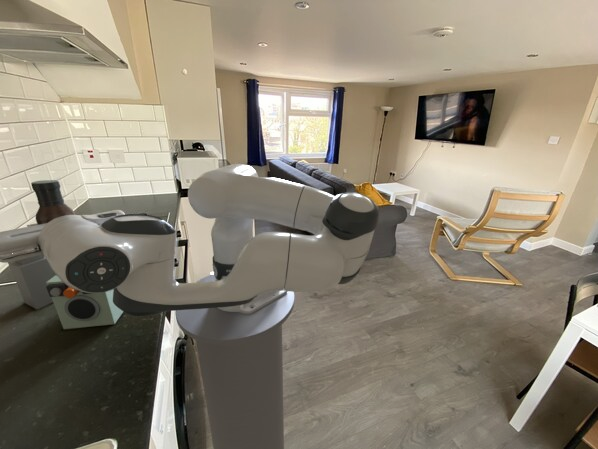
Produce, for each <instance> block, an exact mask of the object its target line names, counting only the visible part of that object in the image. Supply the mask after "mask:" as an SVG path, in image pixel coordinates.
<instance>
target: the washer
mask: <svg viewBox="0 0 598 449" xmlns="http://www.w3.org/2000/svg"><path fill="white" fill-rule="evenodd" d="M46 284H47V286H46V288H47V291H48V293H49V296H50V297H52V300H53V302H52V303H53V305H54V307H55V311H56V313H57V315H58V318H59V321H60V324H61V326H62V329H63V330H71V329H81V328H89V327H101V326H111V325H115V324H116V323H117V322H118V320H119V319H120V317H121V316H122V314H124V313H125V312H124V311H122V310H121V309H119V308H118V307H117V306H116V305H115V304H114V303H113V291H114V289H113V290H110V291H107V292H104V293H86V292H81V291H79V293H78V294H77V295H76V296H74V297H73V298H66V297H65V296H64V295H63V292H64V291H65V290H66V289H67V288H68V287H69V286H67V285H66V284H65V283H64V282H62V281H61V280H60V279H59V277H58V276H57V275H55V276H54V277H53V278H51V279H50V280H49V281H47V282H46Z"/></svg>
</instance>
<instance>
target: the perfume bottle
mask: <svg viewBox="0 0 598 449" xmlns="http://www.w3.org/2000/svg"><path fill="white" fill-rule="evenodd" d="M7 265H8V266H9V269H10V271H11V274H12V276H13V278H14V280H15V281H14V282H15V283H16V285H17V288H18V290H19V292H20V295H21V297H22V299H23V302H24V304H26V305H28V306H29V307H31V308H32V309H35V310H38V309H41V308H43V307H45V306H48V305H50V304H52V303H53V300H52V297H50V296H49V293H48V291H47V288H46V286H47V284H46V282H47V281H49V280H50V279H51V278H53V277H54V276H55V275H56V274H55V273H54V271H53V270H52V268H51V266H50V264H49V262H48V260H47V259H46V258H45V256H44V254H42V255H38V256H34V257H30V258H26V259H22V260H18V261H14V262H7Z"/></svg>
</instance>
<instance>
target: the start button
mask: <svg viewBox="0 0 598 449" xmlns="http://www.w3.org/2000/svg"><path fill="white" fill-rule="evenodd" d="M78 293H79V291H78V290H76V289H73V288H71V287H68V288H67V289H66V290H65V291H64V292H63V295H64V296H65V297H66V298H73V297H74V296H76V295H77V294H78Z"/></svg>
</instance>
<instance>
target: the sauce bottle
mask: <svg viewBox="0 0 598 449" xmlns="http://www.w3.org/2000/svg"><path fill="white" fill-rule="evenodd" d="M30 184H31V188H32V190H33V192H34V193H35V196H36V198H37V204H38V206H39V207H38V209H37V211H36V213H35V221H36V223H37V224H38V225H40V224H45V223H48V222H50V221H52V220H53V219H55V218H58V217H61V216H65V215H76V213H75V211H74V210H73V209H72V208H71V207H70V206H68V205H67V204H66V203H65V199H64V198H63V195H62V191H61V184H60V181H59V180H57V179H44V180H43V179H42V180H35V181H31V183H30Z"/></svg>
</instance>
